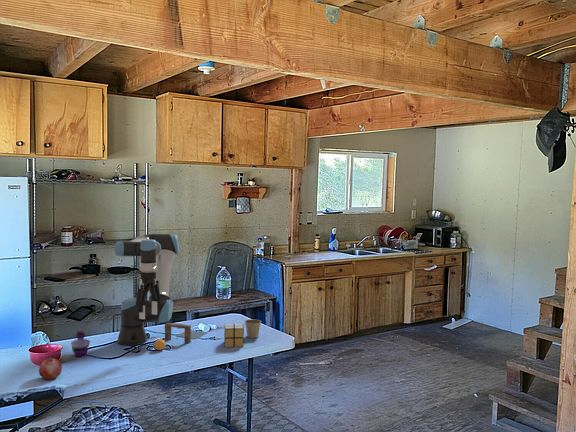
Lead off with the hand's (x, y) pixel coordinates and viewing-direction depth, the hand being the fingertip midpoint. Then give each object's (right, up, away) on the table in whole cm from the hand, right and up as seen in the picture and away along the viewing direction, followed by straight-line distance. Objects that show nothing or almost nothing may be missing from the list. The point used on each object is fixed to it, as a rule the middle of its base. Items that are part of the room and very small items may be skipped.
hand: (148, 316), depth 250 cm
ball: (+3, -16, +10) cm, 19 cm away
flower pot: (+49, -19, +36) cm, 63 cm away
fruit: (-34, -21, -30) cm, 50 cm away
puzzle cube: (+40, -19, +21) cm, 49 cm away
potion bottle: (-33, -19, -1) cm, 38 cm away
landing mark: (+14, -18, +38) cm, 44 cm away
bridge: (+9, -18, +25) cm, 32 cm away
